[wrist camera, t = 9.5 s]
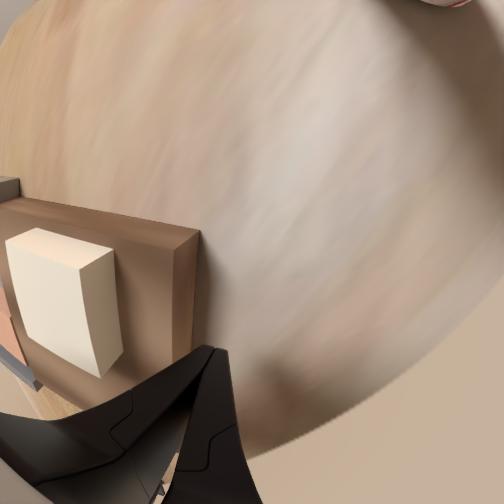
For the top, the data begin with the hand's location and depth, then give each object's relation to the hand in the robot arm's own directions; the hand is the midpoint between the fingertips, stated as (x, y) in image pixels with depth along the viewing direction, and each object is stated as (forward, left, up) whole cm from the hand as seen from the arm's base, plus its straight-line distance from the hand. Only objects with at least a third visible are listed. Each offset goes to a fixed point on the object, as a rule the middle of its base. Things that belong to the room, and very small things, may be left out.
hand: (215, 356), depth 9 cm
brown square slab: (-4, +8, -4) cm, 10 cm away
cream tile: (0, +7, -1) cm, 7 cm away
